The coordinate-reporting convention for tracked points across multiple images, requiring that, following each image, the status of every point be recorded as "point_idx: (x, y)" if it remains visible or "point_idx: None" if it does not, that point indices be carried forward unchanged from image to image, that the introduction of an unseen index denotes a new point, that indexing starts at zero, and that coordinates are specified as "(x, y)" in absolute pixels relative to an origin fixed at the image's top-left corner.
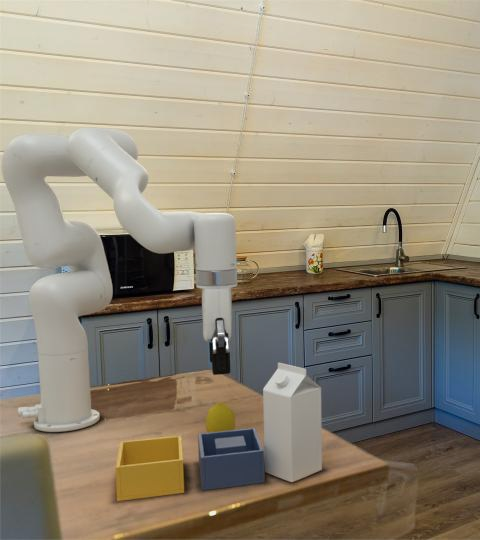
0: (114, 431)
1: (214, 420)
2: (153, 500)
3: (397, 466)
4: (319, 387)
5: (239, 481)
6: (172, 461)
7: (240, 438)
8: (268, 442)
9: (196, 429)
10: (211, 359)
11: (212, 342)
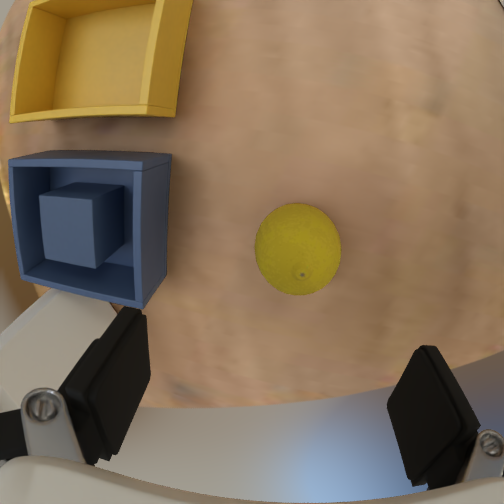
0: (473, 35)
1: (265, 230)
2: None
3: None
4: None
5: None
6: (11, 102)
7: (80, 258)
8: (46, 300)
9: (416, 196)
10: (421, 359)
11: (457, 441)
